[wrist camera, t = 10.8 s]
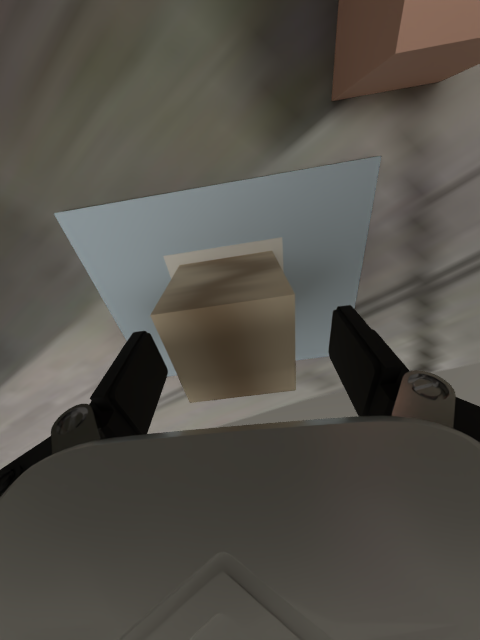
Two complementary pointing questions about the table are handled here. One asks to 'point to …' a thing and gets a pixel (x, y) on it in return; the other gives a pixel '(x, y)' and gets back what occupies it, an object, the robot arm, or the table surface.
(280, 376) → the base block
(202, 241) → the board
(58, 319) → the table surface
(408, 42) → the top block
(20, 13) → the table surface
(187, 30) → the table surface
